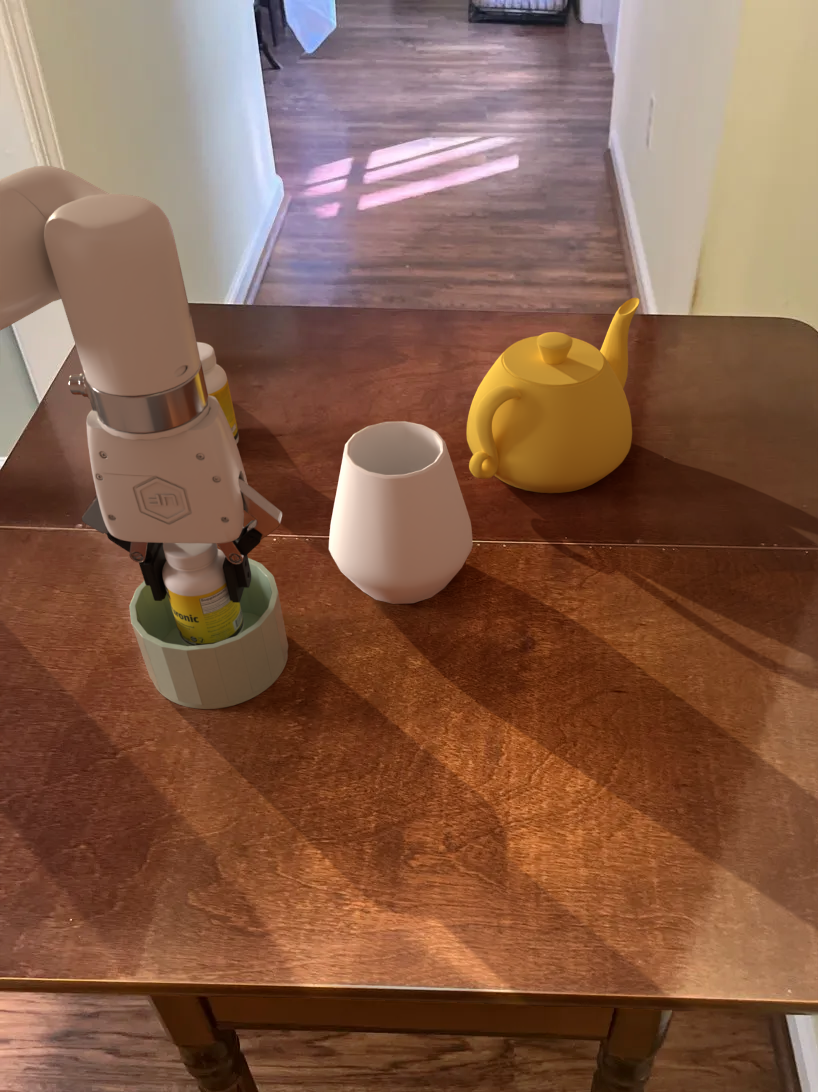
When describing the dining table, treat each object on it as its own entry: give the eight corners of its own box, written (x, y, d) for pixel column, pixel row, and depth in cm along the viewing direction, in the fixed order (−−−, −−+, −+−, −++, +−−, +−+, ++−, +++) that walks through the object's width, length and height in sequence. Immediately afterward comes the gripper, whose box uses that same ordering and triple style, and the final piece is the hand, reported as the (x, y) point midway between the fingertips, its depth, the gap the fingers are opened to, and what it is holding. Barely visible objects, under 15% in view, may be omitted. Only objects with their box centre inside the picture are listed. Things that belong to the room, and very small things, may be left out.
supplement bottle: (168, 628, 83) (141, 537, 76) (224, 600, 86) (203, 510, 79) (199, 663, 80) (174, 572, 73) (257, 634, 83) (237, 543, 76)
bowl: (133, 708, 81) (111, 648, 76) (169, 610, 90) (151, 550, 85) (275, 711, 81) (262, 652, 76) (298, 612, 89) (288, 553, 85)
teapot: (568, 379, 119) (577, 269, 109) (687, 437, 110) (708, 323, 101) (416, 462, 106) (410, 346, 97) (536, 535, 98) (543, 415, 88)
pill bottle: (250, 436, 110) (233, 345, 102) (218, 465, 106) (197, 372, 98) (205, 423, 112) (185, 333, 104) (171, 451, 108) (147, 359, 100)
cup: (316, 612, 90) (297, 486, 80) (350, 522, 99) (337, 400, 89) (461, 626, 88) (460, 501, 78) (482, 534, 98) (483, 412, 88)
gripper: (5, 420, 64) (82, 620, 77) (265, 424, 64) (299, 624, 77) (44, 362, 70) (110, 558, 83) (284, 366, 70) (313, 562, 82)
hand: (201, 588), depth 80 cm, fingers closed on supplement bottle, 5 cm apart
